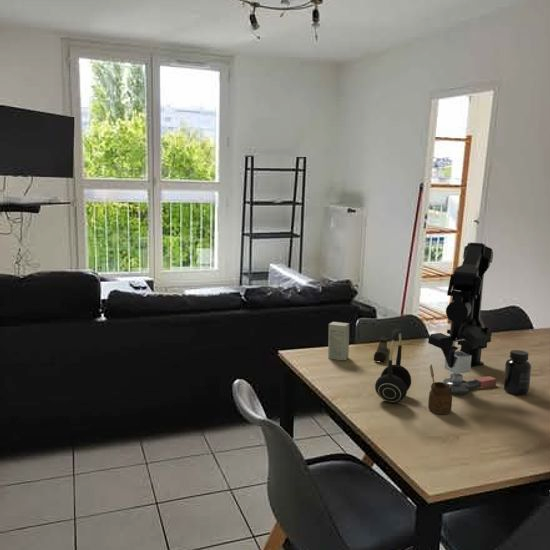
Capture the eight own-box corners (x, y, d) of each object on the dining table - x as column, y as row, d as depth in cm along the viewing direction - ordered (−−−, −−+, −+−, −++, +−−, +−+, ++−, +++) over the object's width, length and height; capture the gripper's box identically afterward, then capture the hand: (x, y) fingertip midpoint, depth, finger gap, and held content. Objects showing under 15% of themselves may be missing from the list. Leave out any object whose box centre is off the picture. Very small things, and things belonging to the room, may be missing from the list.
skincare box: (348, 357, 180) (350, 323, 178) (345, 361, 176) (346, 326, 174) (331, 354, 182) (332, 320, 180) (327, 358, 178) (328, 323, 176)
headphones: (371, 405, 141) (375, 334, 138) (382, 386, 155) (386, 321, 151) (403, 411, 138) (408, 338, 135) (412, 391, 151) (417, 325, 148)
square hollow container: (457, 366, 155) (459, 350, 154) (470, 372, 151) (471, 355, 150) (444, 368, 153) (445, 352, 152) (456, 374, 149) (458, 357, 148)
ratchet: (483, 379, 162) (484, 364, 161) (501, 388, 156) (503, 372, 155) (437, 387, 155) (438, 371, 154) (454, 396, 148) (456, 380, 147)
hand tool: (385, 364, 175) (386, 350, 174) (373, 362, 176) (374, 349, 175) (391, 348, 192) (392, 335, 192) (380, 346, 194) (381, 334, 193)
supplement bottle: (527, 388, 155) (531, 350, 153) (529, 397, 149) (534, 357, 147) (502, 385, 158) (506, 347, 156) (503, 393, 151) (508, 354, 149)
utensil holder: (448, 417, 135) (451, 373, 133) (423, 411, 138) (427, 368, 136) (453, 409, 140) (457, 366, 138) (430, 403, 143) (433, 361, 141)
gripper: (457, 324, 138) (452, 380, 141) (508, 318, 146) (503, 371, 148) (428, 314, 148) (424, 366, 151) (478, 309, 156) (473, 359, 158)
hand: (457, 366), depth 152 cm, fingers closed on square hollow container, 5 cm apart
